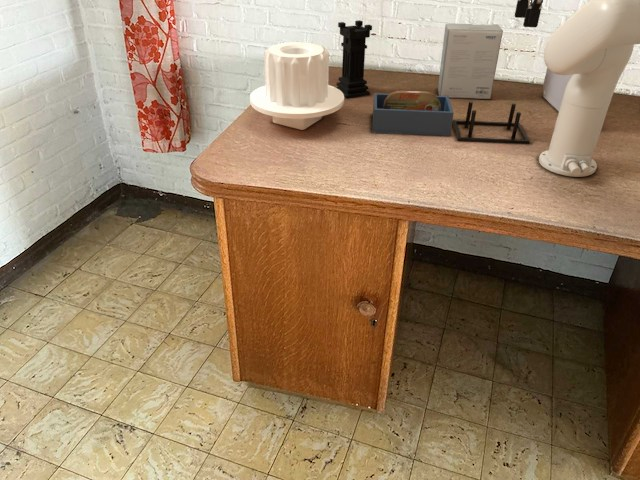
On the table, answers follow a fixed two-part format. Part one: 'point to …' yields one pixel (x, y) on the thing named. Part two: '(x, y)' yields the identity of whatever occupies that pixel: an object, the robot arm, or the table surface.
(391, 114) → the open box
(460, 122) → the rack
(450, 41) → the hard drive box
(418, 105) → the tin
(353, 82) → the chess piece
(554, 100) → the game console
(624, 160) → the table surface
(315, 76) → the flanged gear
